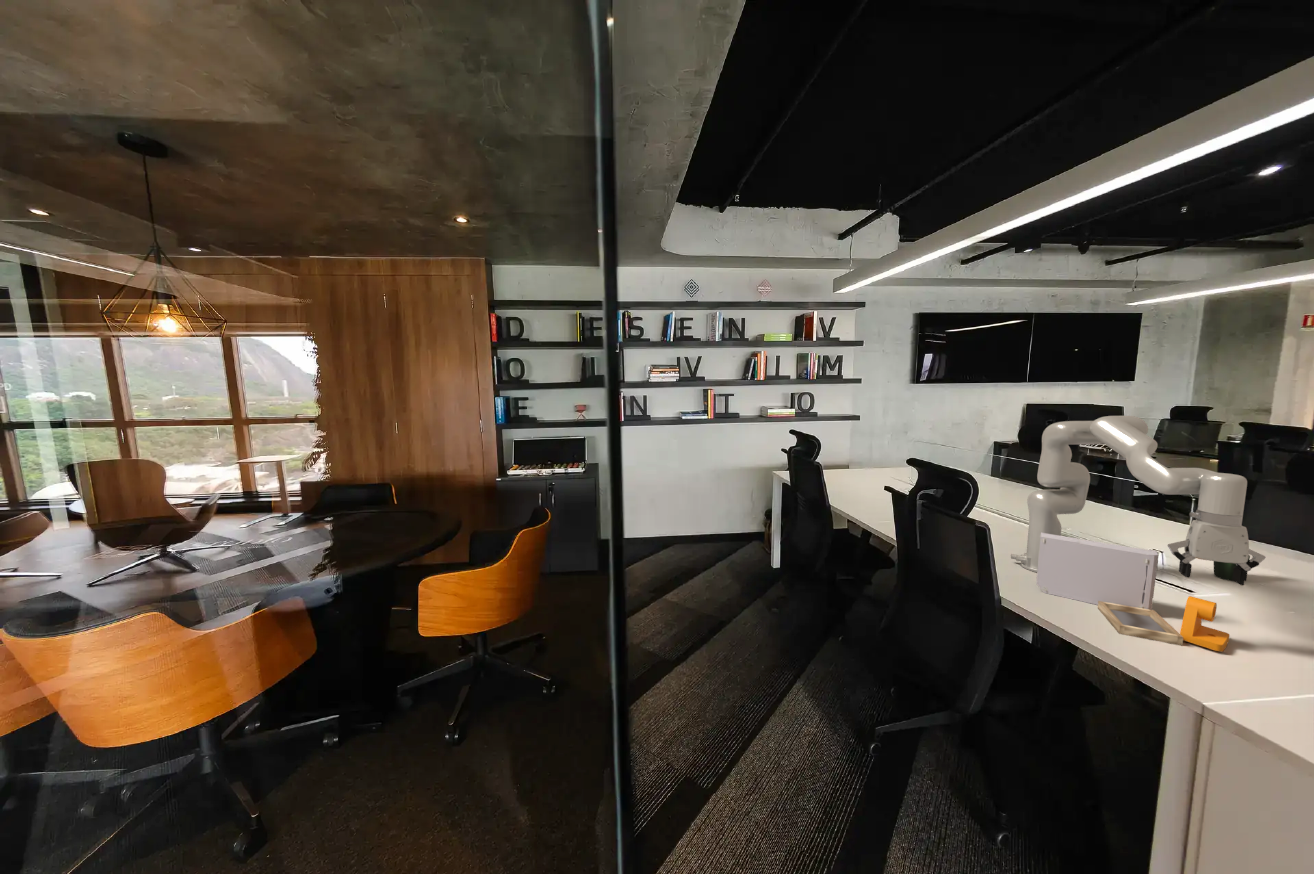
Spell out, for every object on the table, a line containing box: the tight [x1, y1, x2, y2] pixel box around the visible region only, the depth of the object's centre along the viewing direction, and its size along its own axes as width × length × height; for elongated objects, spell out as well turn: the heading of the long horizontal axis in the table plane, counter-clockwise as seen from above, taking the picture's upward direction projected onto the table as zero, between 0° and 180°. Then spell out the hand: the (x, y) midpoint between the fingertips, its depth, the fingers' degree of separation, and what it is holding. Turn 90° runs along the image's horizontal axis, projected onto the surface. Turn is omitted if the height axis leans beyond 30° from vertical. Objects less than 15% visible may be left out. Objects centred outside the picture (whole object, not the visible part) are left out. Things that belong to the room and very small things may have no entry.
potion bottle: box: [1213, 555, 1251, 582], centre depth 159 cm, size 8×8×18 cm
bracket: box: [1179, 595, 1231, 653], centre depth 120 cm, size 11×7×12 cm, turn 120°
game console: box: [1035, 533, 1159, 610], centre depth 144 cm, size 6×27×20 cm, turn 47°
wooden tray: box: [1097, 601, 1184, 647], centre depth 130 cm, size 12×16×2 cm
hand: (1210, 579), depth 119 cm, fingers open, 9 cm apart
